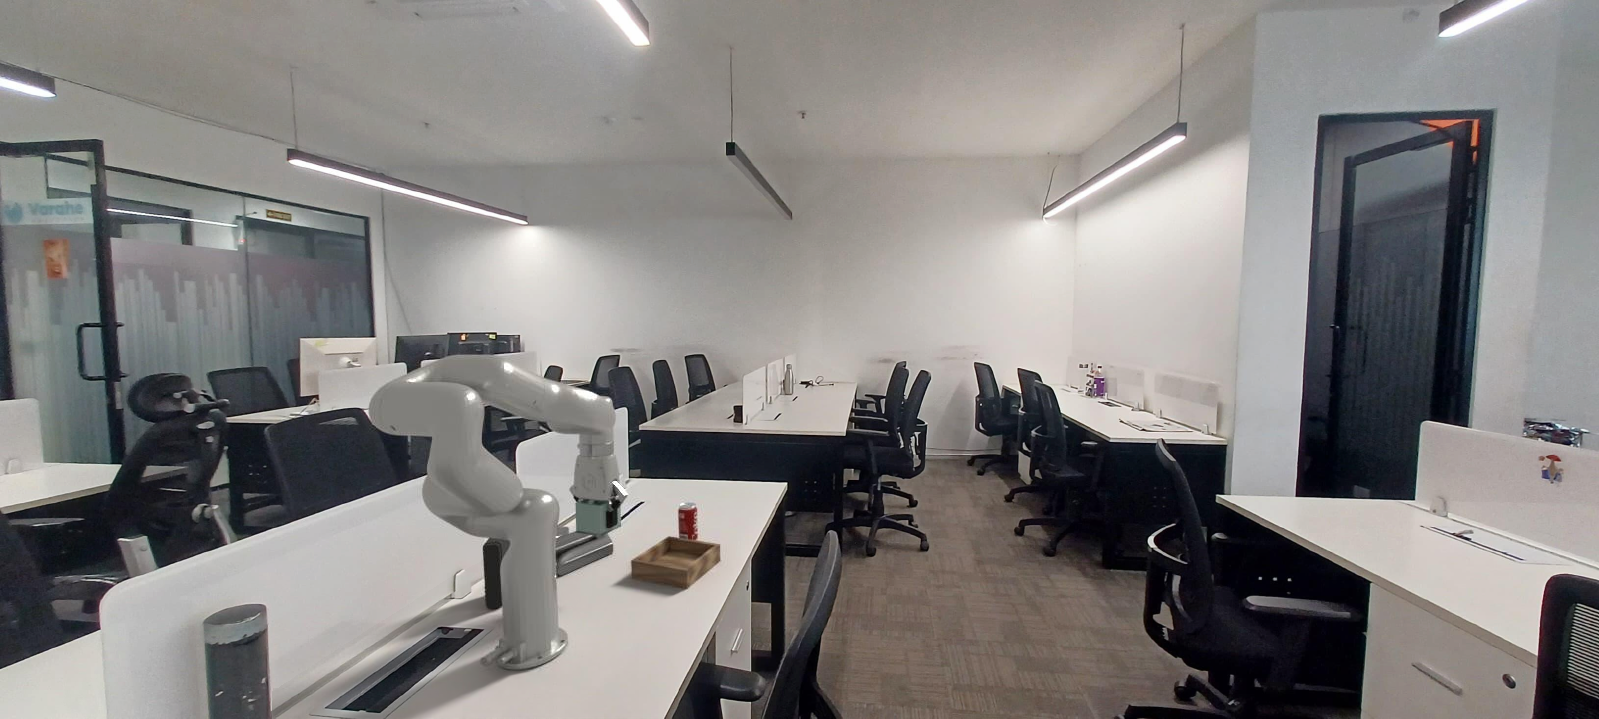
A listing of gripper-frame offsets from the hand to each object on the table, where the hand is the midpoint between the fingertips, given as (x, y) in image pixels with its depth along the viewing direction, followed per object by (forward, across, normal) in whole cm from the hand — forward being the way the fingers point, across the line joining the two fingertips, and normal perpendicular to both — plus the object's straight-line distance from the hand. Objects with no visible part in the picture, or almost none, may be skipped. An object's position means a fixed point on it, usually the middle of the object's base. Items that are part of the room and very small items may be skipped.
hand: (598, 523), depth 127 cm
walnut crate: (+16, +11, +16) cm, 25 cm away
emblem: (+16, -24, +13) cm, 32 cm away
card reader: (+16, -19, -11) cm, 28 cm away
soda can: (+16, +6, +29) cm, 33 cm away
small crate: (+1, 0, 0) cm, 1 cm away
